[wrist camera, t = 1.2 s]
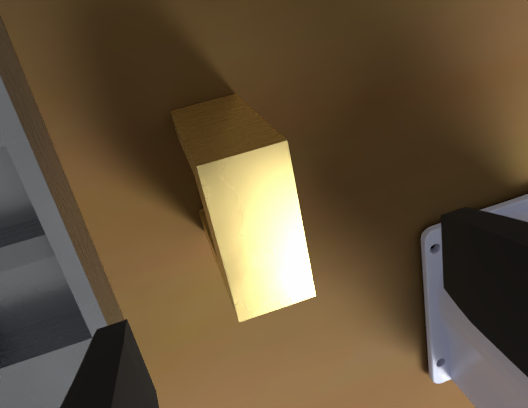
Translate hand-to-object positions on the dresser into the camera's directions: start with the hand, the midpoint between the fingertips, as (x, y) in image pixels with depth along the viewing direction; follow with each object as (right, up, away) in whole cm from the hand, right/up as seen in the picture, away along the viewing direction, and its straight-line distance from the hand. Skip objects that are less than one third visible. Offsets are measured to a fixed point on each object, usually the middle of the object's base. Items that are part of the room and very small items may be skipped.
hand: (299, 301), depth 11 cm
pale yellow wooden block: (-2, +4, +8) cm, 9 cm away
